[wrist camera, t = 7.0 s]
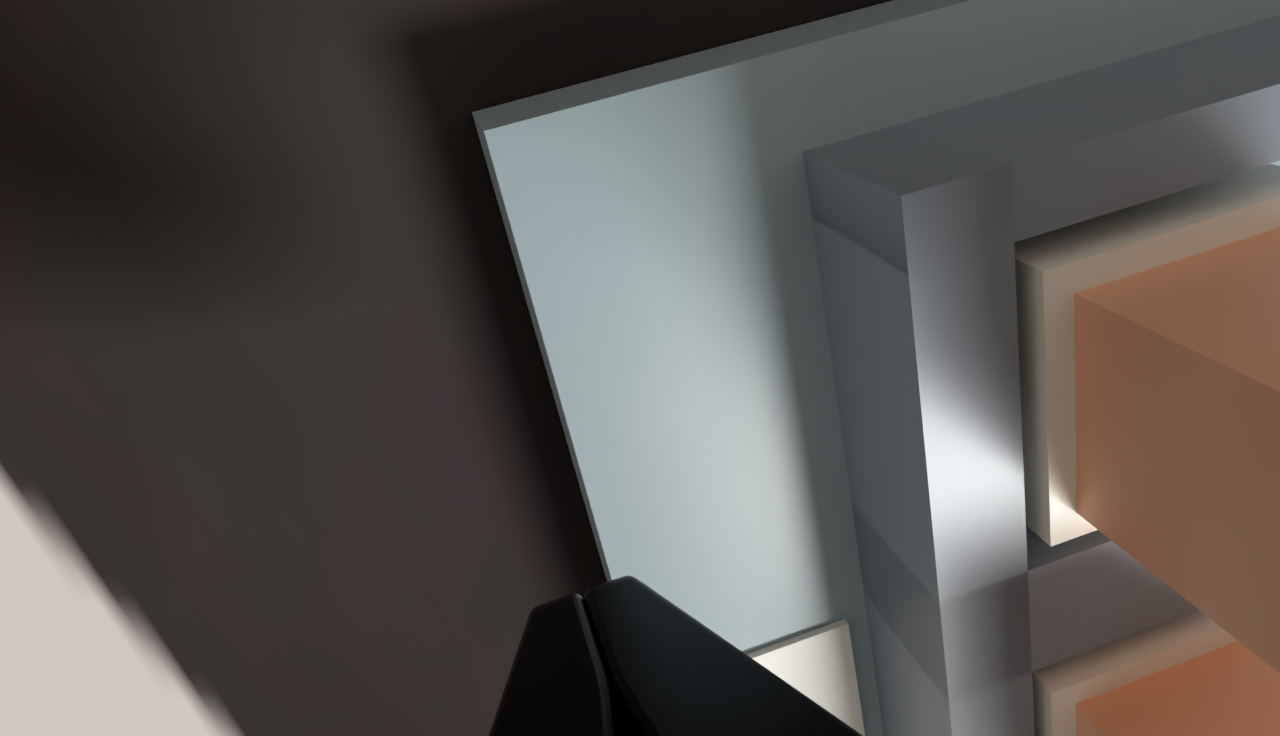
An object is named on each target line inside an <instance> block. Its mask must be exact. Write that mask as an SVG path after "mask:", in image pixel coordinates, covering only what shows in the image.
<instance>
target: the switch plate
mask: <svg viewBox="0 0 1280 736" xmlns="http://www.w3.org/2000/svg"><path fill="white" fill-rule="evenodd" d="M472 115H473V118H474V122H475V125H476V129H477V132H478V136H479V139H480V143H481V146H482V150H483V153H484V156H485V160H486V163H487V167H488V170H489V174H490V177H491V181H492V184H493V188H494V191H495V195H496V198H497V202H498V205H499V208H500V212H501V215H502V219H503V222H504V226H505V229H506V233H507V236H508V240H509V243H510V247H511V250H512V254H513V257H514V261H515V264H516V267H517V271H518V274H519V278H520V281H521V285H522V288H523V292H524V295H525V299H526V302H527V306H528V309H529V313H530V316H531V320H532V323H533V326H534V330H535V333H536V337H537V340H538V344H539V347H540V351H541V354H542V358H543V361H544V365H545V368H546V372H547V375H548V379H549V382H550V385H551V389H552V392H553V396H554V399H555V403H556V406H557V410H558V413H559V417H560V420H561V424H562V427H563V431H564V434H565V437H566V441H567V444H568V448H569V451H570V455H571V458H572V462H573V465H574V469H575V472H576V476H577V479H578V483H579V486H580V490H581V493H582V496H583V500H584V503H585V507H586V510H587V514H588V517H589V521H590V524H591V528H592V531H593V535H594V538H595V542H596V545H597V549H598V552H599V555H600V559H601V562H602V566H603V569H604V573H605V576H606V580H607V582H608V581H611V580H614V579H617V578H620V577H623V576H627V575H629V576H633V577H635V578H637V579H638V580H640V581H641V582H643V583H644V584H645V585H647V586H648V587H650V588H651V589H653V590H654V591H655V592H657V593H658V594H660V595H661V596H663V597H664V598H666V599H667V600H668V601H670V602H671V603H673V604H674V605H676V606H677V607H679V608H680V609H681V610H683V611H684V612H686V613H687V614H689V615H690V616H692V617H693V618H694V619H696V620H697V621H699V622H700V623H702V624H703V625H704V626H706V627H707V628H709V629H710V630H712V631H713V632H715V633H716V634H717V635H719V636H720V637H722V638H723V639H725V640H726V641H728V642H729V643H730V644H732V645H733V646H735V647H736V648H738V649H739V650H741V651H742V652H743V653H745V654H746V655H748V656H749V657H751V658H752V659H753V660H755V661H756V662H758V663H759V664H761V665H762V666H764V667H765V668H766V669H768V670H769V671H771V672H772V673H774V674H775V675H777V676H778V677H779V678H781V679H782V680H784V681H785V682H787V683H788V684H790V685H791V686H792V687H794V688H795V689H797V690H798V691H800V692H801V693H802V694H804V695H805V696H807V697H808V698H810V699H811V700H813V701H814V702H815V703H817V704H818V705H820V706H821V707H823V708H824V709H826V710H827V711H828V712H830V713H831V714H833V715H834V716H836V717H837V718H839V719H840V720H841V721H843V722H844V723H846V724H847V725H849V726H850V727H851V728H853V729H854V730H856V731H857V732H859V733H860V734H862V735H863V736H1035V730H1034V706H1033V682H1032V672H1033V671H1036V670H1038V669H1041V668H1044V667H1046V666H1049V665H1052V664H1054V663H1057V662H1060V661H1062V660H1065V659H1067V658H1070V657H1073V656H1075V655H1078V654H1081V653H1083V652H1086V651H1089V650H1091V649H1094V648H1096V647H1099V646H1102V645H1104V644H1107V643H1110V642H1112V641H1115V640H1117V639H1120V638H1123V637H1125V636H1128V635H1131V634H1133V633H1136V632H1139V631H1141V630H1144V629H1146V628H1149V627H1152V626H1154V625H1157V624H1160V623H1162V622H1165V621H1168V620H1170V619H1173V618H1175V617H1178V616H1181V615H1183V614H1186V613H1189V612H1191V611H1194V610H1197V608H1196V607H1195V606H1194V605H1192V604H1191V603H1190V602H1189V601H1187V600H1186V599H1185V598H1184V597H1182V596H1181V595H1180V594H1178V593H1177V592H1176V591H1175V590H1173V589H1172V588H1171V587H1170V586H1168V585H1167V584H1166V583H1165V582H1163V581H1162V580H1161V579H1160V578H1158V577H1157V576H1156V575H1154V574H1153V573H1152V572H1151V571H1149V570H1148V569H1147V568H1146V567H1144V566H1143V565H1142V564H1141V563H1139V562H1138V561H1137V560H1135V559H1134V558H1133V557H1132V556H1130V555H1129V554H1128V553H1127V552H1125V551H1124V550H1123V549H1122V548H1120V547H1119V546H1118V545H1117V544H1115V543H1114V542H1113V541H1111V540H1110V539H1109V538H1108V537H1106V536H1105V535H1104V534H1103V533H1101V532H1100V531H1099V530H1096V531H1093V532H1090V533H1088V534H1085V535H1082V536H1079V537H1077V538H1074V539H1071V540H1068V541H1065V542H1063V543H1060V544H1057V545H1054V546H1052V547H1050V546H1049V545H1048V544H1047V543H1046V542H1045V541H1044V540H1042V539H1041V538H1040V537H1039V536H1038V535H1037V534H1036V533H1034V532H1033V531H1032V530H1031V529H1030V528H1029V527H1027V526H1026V514H1025V489H1024V465H1023V441H1022V417H1021V393H1020V369H1019V345H1018V321H1017V297H1016V273H1015V249H1014V242H1018V241H1021V240H1024V239H1027V238H1031V237H1034V236H1037V235H1040V234H1043V233H1047V232H1050V231H1053V230H1056V229H1060V228H1063V227H1066V226H1069V225H1073V224H1076V223H1079V222H1082V221H1085V220H1089V219H1092V218H1095V217H1098V216H1102V215H1105V214H1108V213H1111V212H1115V211H1118V210H1121V209H1124V208H1127V207H1131V206H1134V205H1137V204H1140V203H1144V202H1147V201H1150V200H1153V199H1157V198H1160V197H1163V196H1166V195H1169V194H1173V193H1176V192H1179V191H1182V190H1186V189H1189V188H1192V187H1195V186H1199V185H1202V184H1205V183H1208V182H1211V181H1215V180H1218V179H1221V178H1224V177H1228V176H1231V175H1234V174H1237V173H1241V172H1244V171H1247V170H1250V169H1253V168H1257V167H1260V166H1263V165H1266V164H1273V165H1278V166H1280V0H892V1H889V2H885V3H881V4H877V5H874V6H870V7H866V8H862V9H859V10H855V11H851V12H847V13H843V14H840V15H836V16H832V17H828V18H825V19H821V20H817V21H813V22H810V23H806V24H802V25H798V26H794V27H791V28H787V29H783V30H779V31H776V32H772V33H768V34H764V35H761V36H757V37H753V38H749V39H745V40H742V41H738V42H734V43H730V44H727V45H723V46H719V47H715V48H712V49H708V50H704V51H700V52H696V53H693V54H689V55H685V56H681V57H678V58H674V59H670V60H666V61H663V62H659V63H655V64H651V65H648V66H644V67H640V68H636V69H632V70H629V71H625V72H621V73H617V74H614V75H610V76H606V77H602V78H599V79H595V80H591V81H587V82H583V83H580V84H576V85H572V86H568V87H565V88H561V89H557V90H553V91H550V92H546V93H542V94H538V95H534V96H531V97H527V98H523V99H519V100H516V101H512V102H508V103H504V104H501V105H497V106H493V107H489V108H485V109H482V110H478V111H474V112H472Z"/></svg>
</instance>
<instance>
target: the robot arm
mask: <svg viewBox="0 0 1280 736" xmlns="http://www.w3.org/2000/svg"><path fill="white" fill-rule="evenodd" d="M584 600H585V602H584ZM584 600H583V598H582V597H581V596H580V595H579V594H570V595H567V596H565V597H562V598H559V599H556V600H553V601H550V602H547V603H544V604H541V605H538V606H537V607H535V608H533V610H532V611H531V612H530V614H529V617H528V620H527V623H526V626H525V629H524V632H523V635H522V638H521V641H520V644H519V647H518V650H517V653H516V656H515V659H514V662H513V665H512V668H511V671H510V674H509V677H508V680H507V683H506V686H505V689H504V692H503V695H502V698H501V701H500V704H499V707H498V710H497V713H496V716H495V719H494V722H493V725H492V728H491V731H490V734H489V736H863V735H862V734H860V733H859V732H857V731H856V730H854V729H853V728H851V727H850V726H849V725H847V724H846V723H844V722H843V721H841V720H840V719H839V718H837V717H836V716H834V715H833V714H831V713H830V712H828V711H827V710H826V709H824V708H823V707H821V706H820V705H818V704H817V703H815V702H814V701H813V700H811V699H810V698H808V697H807V696H805V695H804V694H802V693H801V692H800V691H798V690H797V689H795V688H794V687H792V686H791V685H790V684H788V683H787V682H785V681H784V680H782V679H781V678H779V677H778V676H777V675H775V674H774V673H772V672H771V671H769V670H768V669H766V668H765V667H764V666H762V665H761V664H759V663H758V662H756V661H755V660H753V659H752V658H751V657H749V656H748V655H746V654H745V653H743V652H742V651H741V650H739V649H738V648H736V647H735V646H733V645H732V644H730V643H729V642H728V641H726V640H725V639H723V638H722V637H720V636H719V635H717V634H716V633H715V632H713V631H712V630H710V629H709V628H707V627H706V626H704V625H703V624H702V623H700V622H699V621H697V620H696V619H694V618H693V617H692V616H690V615H689V614H687V613H686V612H684V611H683V610H681V609H680V608H679V607H677V606H676V605H674V604H673V603H671V602H670V601H668V600H667V599H666V598H664V597H663V596H661V595H660V594H658V593H657V592H655V591H654V590H653V589H651V588H650V587H648V586H647V585H645V584H644V583H643V582H641V581H640V580H638V579H637V578H635V577H633V576H629V575H627V576H623V577H620V578H617V579H614V580H611V581H608V582H605V583H602V584H600V585H597V586H594V587H591V588H589V589H588V590H587V591H586V592H585V595H584ZM585 603H586V605H585ZM586 607H587V608H586ZM587 610H588V611H587ZM588 613H589V614H588Z"/></svg>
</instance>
